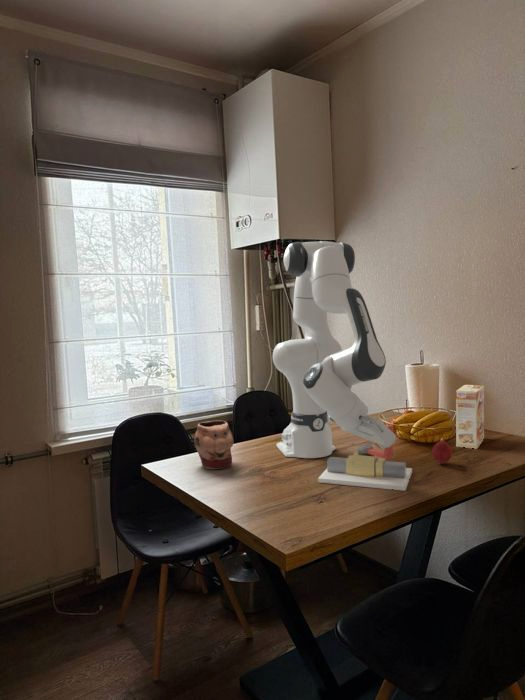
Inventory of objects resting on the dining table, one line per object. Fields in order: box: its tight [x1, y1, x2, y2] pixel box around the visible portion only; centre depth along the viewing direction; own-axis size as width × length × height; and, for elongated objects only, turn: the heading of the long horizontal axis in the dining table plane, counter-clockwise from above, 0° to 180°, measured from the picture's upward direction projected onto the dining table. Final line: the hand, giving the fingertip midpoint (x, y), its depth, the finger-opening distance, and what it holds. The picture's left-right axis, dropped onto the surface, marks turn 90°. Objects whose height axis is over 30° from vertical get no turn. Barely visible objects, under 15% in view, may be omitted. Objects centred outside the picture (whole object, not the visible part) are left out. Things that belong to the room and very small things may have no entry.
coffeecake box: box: [455, 384, 485, 450], centre depth 181 cm, size 15×7×20 cm, turn 148°
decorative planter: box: [193, 420, 235, 470], centre depth 168 cm, size 20×12×14 cm, turn 28°
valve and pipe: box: [326, 448, 407, 478], centre depth 150 cm, size 22×6×7 cm, turn 68°
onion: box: [431, 437, 453, 465], centre depth 159 cm, size 6×6×8 cm
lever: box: [357, 424, 394, 460], centre depth 146 cm, size 13×4×9 cm, turn 30°
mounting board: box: [317, 467, 413, 492], centre depth 150 cm, size 24×16×1 cm, turn 68°
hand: (382, 446), depth 141 cm, fingers closed, pressing on lever
